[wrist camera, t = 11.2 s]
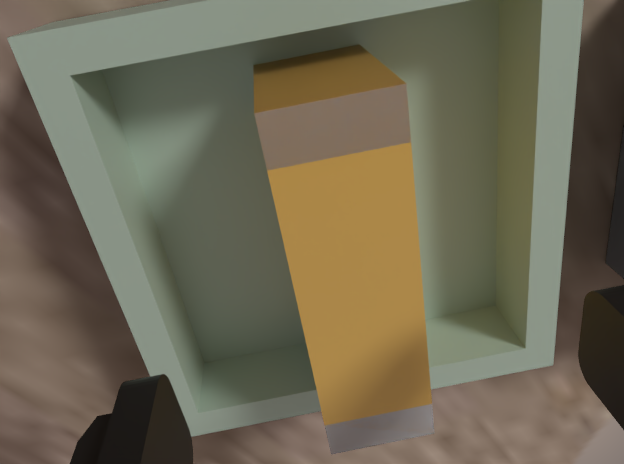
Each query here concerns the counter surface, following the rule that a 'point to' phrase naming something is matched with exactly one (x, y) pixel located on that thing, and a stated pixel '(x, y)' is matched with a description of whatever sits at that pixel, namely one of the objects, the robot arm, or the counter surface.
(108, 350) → the counter surface
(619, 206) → the block
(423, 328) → the block
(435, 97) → the parts tray
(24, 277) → the counter surface
